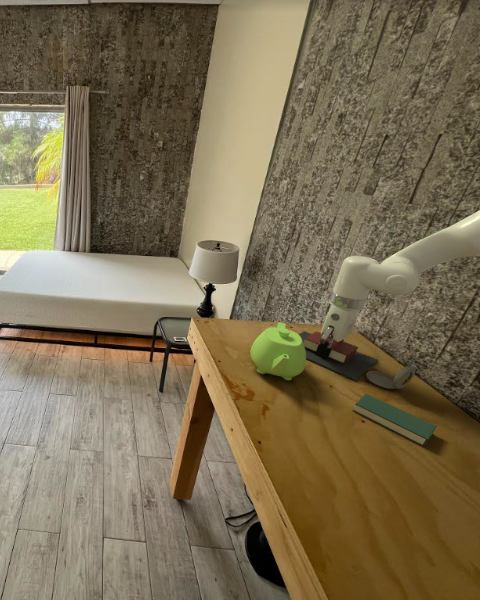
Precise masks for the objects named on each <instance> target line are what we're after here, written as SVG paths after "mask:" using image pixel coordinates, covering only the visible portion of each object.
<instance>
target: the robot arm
mask: <svg viewBox="0 0 480 600" xmlns="http://www.w3.org/2000/svg"><path fill="white" fill-rule="evenodd" d="M477 256H480V209H479V210H478V211H476V212H474V213H472V214H470V215H469V216H466V217H465V218H463V219H461V220H459V221H457V222H456V223H454V224H451V225H450V226H448V227H445V228H443V229H440V230H439V231H437V232H435V233H432V234H430V235H428V236H426V237H423V238H421V239H420V240H417V241H415V242H413V243H411V244H410V245H408V246H406V247H404V248H403V249H400V250H398V251H397V252H396V253H394V254H392V255H390V256H388V257H387V258H386V259H384V260H383V261H382V262H381V263H380V262H379V261H378V260H377V259H374V258H371V257H368V256H362V255H349V256H348V257H346V258H345V259H343V261H342V264H341V267H340V269H339V272H338V275H337V278H336V281H335V283H334V286H333V289H332V292H331V295H330V297H329V301H328V302H329V304H330V305H331V306H330V308H329V310H328V313H327V315H326V317H325V319H324V321H323V324H322V328H321V330H320V333H321V335H322V337H321V340H320V342H319V345H318V347H317V350H316V353H315V355H316V356H319V357H321V358H323V359H326V360H327V359H328V357H329V355H330V352H331V350H332V348H331V346H332V344H333V343H334V341H335V340H336V341H337V342H340V341H344V342H345V339H346V338H348V337H349V336H350V335H351V334H352V333H353V331H354V328H355V325H356V322H357V319H358V316H359V313H360V311H362V310H363V308H364V306H365V303H366V301H367V299H368V296H369V293H370V291H371V290H373V291H376V292H379V293H383V294H386V295H391V296H404V295H407V294H410V293H412V292H413V291H414V290H416V289H417V287H419V286H418V285H419V282H420V279H419V275H420V274H422V273H423V272H426V271H428V270H430V269H431V268H434V267H437V266H438V265H441V264H443V263H446V262H449V261H452V260H457V259H460V258H469V257H477ZM329 336H330V337H329ZM331 337H333V338H331ZM328 339H330V340H331V341H330V343H329V342H328V341H327V340H328Z"/></svg>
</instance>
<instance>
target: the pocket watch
mask: <svg viewBox="0 0 480 600" xmlns="http://www.w3.org/2000/svg"><path fill="white" fill-rule="evenodd" d="M417 361H418V359H417V358H414V359H412V360H410V361H409V362H408V363H407V364H408V365H405V366H404V367H403V368H401V369H400V371H399V372H397V374H396V375H395V377H393V376H391V375H390V374H387V373H384V372H381V371H376V370H374V371H373V370H370V371H367V372H366V373H365V374H366V375H365V377H366V379H367V380H368V381H369V382H370V383H372V384H373V385H375V386H378V387H381V388H383V389H386V390H387V389H389V390H395V389H398V390H401V389H402V388H404V387H405V386H407V385H408V384H409V383H410V382H411V380H412V379H413V378H414V376H415V374H416V371H417V369H416V367H414V366H413V365H414V363H415V362H417Z"/></svg>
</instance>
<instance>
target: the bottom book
mask: <svg viewBox="0 0 480 600" xmlns="http://www.w3.org/2000/svg"><path fill="white" fill-rule="evenodd" d="M352 411H353V412H355V413H356V414H358V415H360V416H362V417H364V418H366V419H368V420H370V421H372V422H374V423H375V424H378V425H379V426H382V427H384V428H386V429H388V430H390V431H392V432H394V433H396V434H398V435H400V436H401V437H403V438H406V439H407V440H408V441H409V440H410V441H411V442H413V443H415V444H417V445H419V446H421V447H424V448H425V447H426V445H427V443H428V441H429V440H430V438H431V437H432V435H433V433H434V432H435V431H436V428H437V427H438V426H437V425H436V424H433V423H431V422H429V421H427V420H424V419H423V418H420V417H418V416H417V415H414V414H411V413H409V412H407V411H405V410H403V409H400V408H398V407H396V406H394V405H391V404H389V403H388V402H385V401H383V400H381V399H379V398H377V397H374V396H372V395H370V394H368V393H365V394H364V395H363V396H361V398H360V399H358V401H357V402H356V403H355V404H354V406H353V409H352Z"/></svg>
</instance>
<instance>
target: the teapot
mask: <svg viewBox="0 0 480 600" xmlns="http://www.w3.org/2000/svg"><path fill="white" fill-rule="evenodd" d="M286 326H287V324H286V323H285V322H280V321H279V322H277V325H276V326H269V327H267V328H266V329H264V330H263V331H262V332H261V333H260V334H259V335H258V336H257V337H256V338H255V340H254V341H253V343H252V345H251V347H250V351H249V355H250V358H251V360H252V363H253V364H254V366H255V367H256V372H257V373H259V374H261V375H265V374H271V375H273V376H278V377H281V378H282V379H284V380H286V381H292V380H293V378H294V377H296V376H299V375H301V374H302V372H304V370H305V368H306V363H307V360H306V352H305V347H304V344H303V341H302V339H301V337H300V336H299V333H297V332H296V331H294V330H290V329H288V328H286Z"/></svg>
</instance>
